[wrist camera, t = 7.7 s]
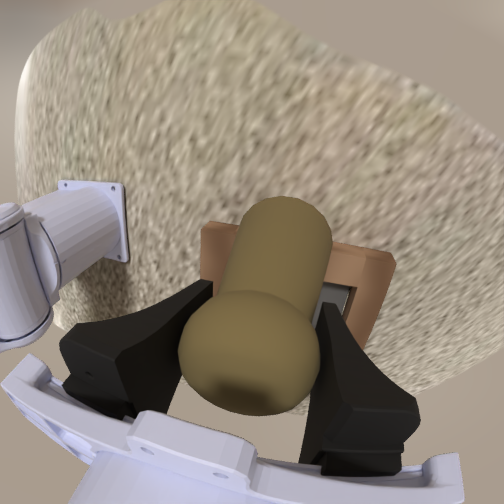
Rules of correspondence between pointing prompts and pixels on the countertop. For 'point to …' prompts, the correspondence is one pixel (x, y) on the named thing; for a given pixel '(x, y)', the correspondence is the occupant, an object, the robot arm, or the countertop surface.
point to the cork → (262, 313)
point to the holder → (335, 282)
